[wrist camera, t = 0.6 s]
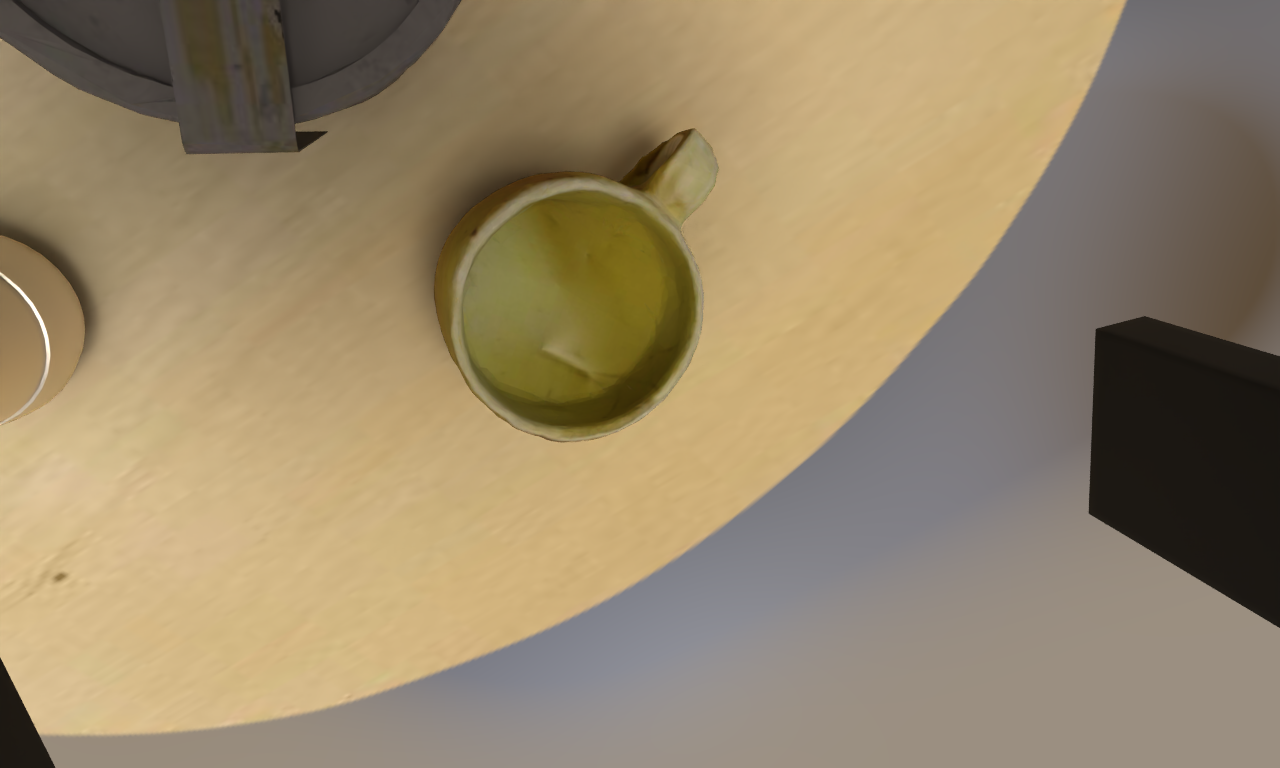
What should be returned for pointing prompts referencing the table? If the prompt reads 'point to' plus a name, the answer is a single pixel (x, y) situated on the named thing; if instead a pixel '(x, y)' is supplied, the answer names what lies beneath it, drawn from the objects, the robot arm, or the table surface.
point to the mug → (578, 293)
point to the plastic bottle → (35, 330)
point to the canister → (228, 59)
